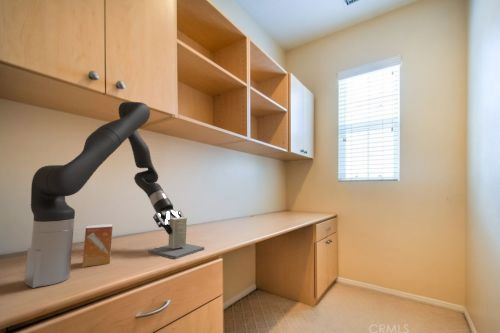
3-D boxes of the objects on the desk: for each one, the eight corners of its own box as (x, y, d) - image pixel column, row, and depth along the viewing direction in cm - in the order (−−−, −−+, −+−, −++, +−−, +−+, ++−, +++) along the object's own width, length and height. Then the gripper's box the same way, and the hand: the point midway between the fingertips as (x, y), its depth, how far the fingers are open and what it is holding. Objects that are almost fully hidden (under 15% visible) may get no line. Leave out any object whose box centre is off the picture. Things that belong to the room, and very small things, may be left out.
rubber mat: (175, 259, 87) (175, 256, 87) (148, 252, 95) (148, 250, 95) (204, 249, 100) (204, 247, 101) (178, 244, 109) (178, 242, 109)
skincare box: (181, 244, 102) (182, 216, 103) (186, 246, 98) (187, 217, 99) (167, 247, 97) (169, 217, 98) (172, 249, 94) (173, 219, 95)
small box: (82, 267, 77) (85, 227, 78) (83, 262, 82) (85, 225, 83) (110, 263, 81) (112, 226, 82) (109, 258, 86) (112, 223, 87)
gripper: (151, 197, 98) (168, 228, 91) (177, 196, 110) (194, 224, 103) (143, 209, 100) (159, 240, 93) (169, 207, 113) (185, 234, 106)
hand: (177, 231), depth 98 cm, fingers closed on skincare box, 7 cm apart
